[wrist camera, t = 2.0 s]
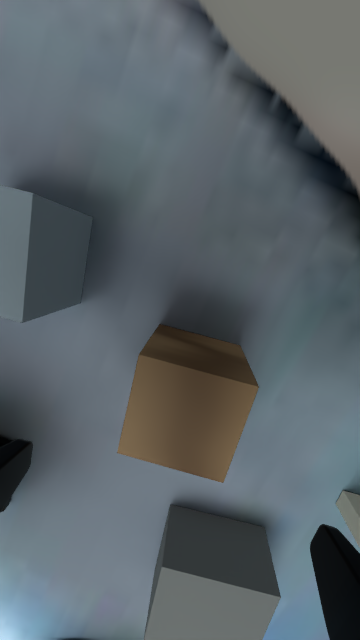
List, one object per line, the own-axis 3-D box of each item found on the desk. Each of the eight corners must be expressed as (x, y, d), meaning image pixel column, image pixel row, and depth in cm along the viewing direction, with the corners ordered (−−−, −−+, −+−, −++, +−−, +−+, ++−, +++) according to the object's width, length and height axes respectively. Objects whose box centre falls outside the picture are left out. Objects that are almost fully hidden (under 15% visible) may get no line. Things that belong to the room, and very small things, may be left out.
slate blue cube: (4, 282, 15) (-92, 292, 10) (9, 196, 14) (-98, 160, 9) (81, 302, 15) (21, 323, 10) (93, 217, 14) (32, 193, 9)
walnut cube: (143, 394, 16) (117, 452, 11) (159, 323, 15) (138, 354, 10) (216, 414, 16) (223, 482, 11) (239, 344, 14) (258, 386, 10)
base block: (155, 566, 20) (143, 640, 16) (170, 501, 18) (161, 566, 14) (239, 588, 19) (249, 669, 16) (263, 523, 18) (280, 597, 14)
